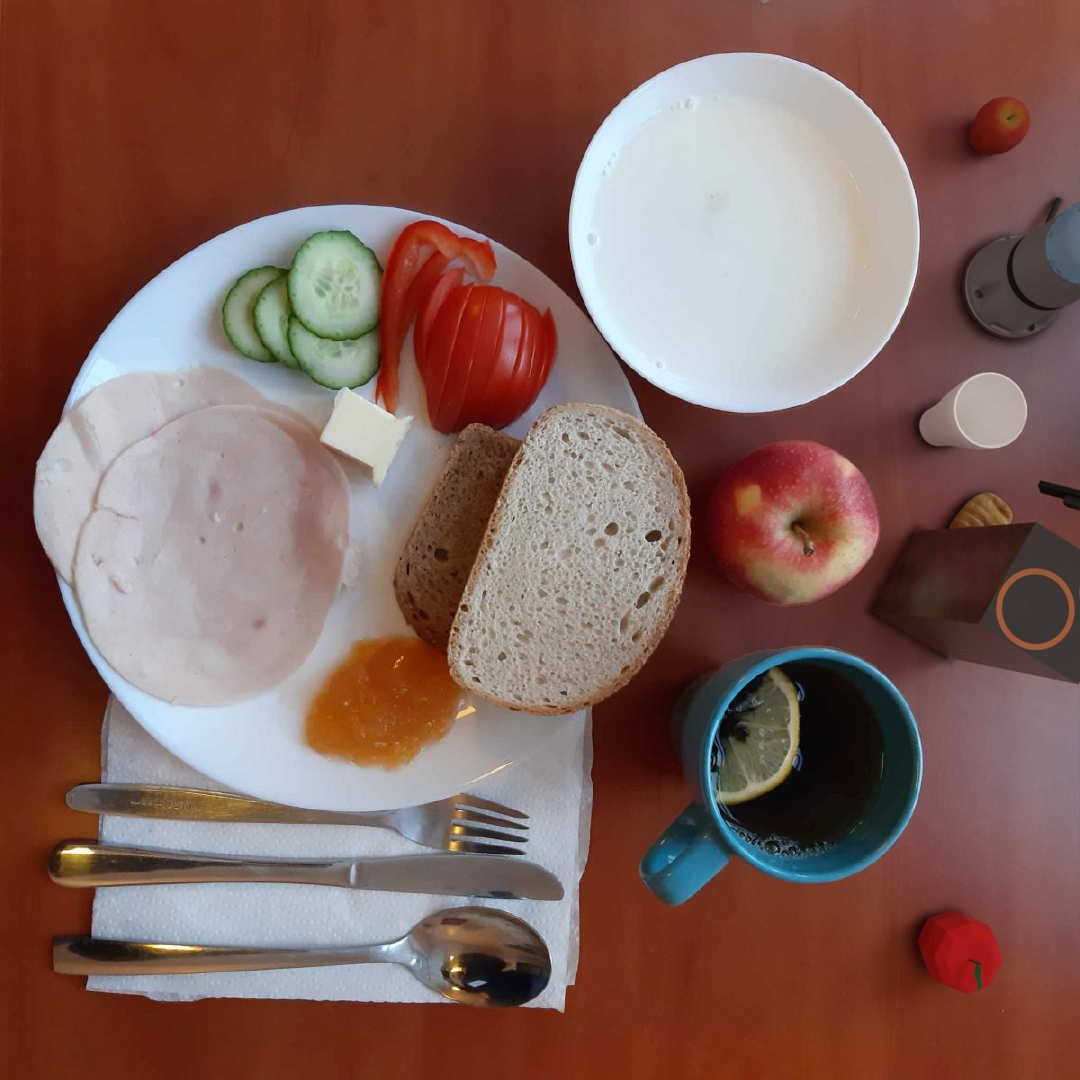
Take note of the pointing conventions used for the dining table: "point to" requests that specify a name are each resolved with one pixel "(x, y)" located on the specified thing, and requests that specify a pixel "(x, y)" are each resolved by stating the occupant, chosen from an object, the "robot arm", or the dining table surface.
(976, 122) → the apple
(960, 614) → the stove stand
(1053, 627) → the hob plate
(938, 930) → the apple
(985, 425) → the cup
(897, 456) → the dining table surface
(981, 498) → the pastry
